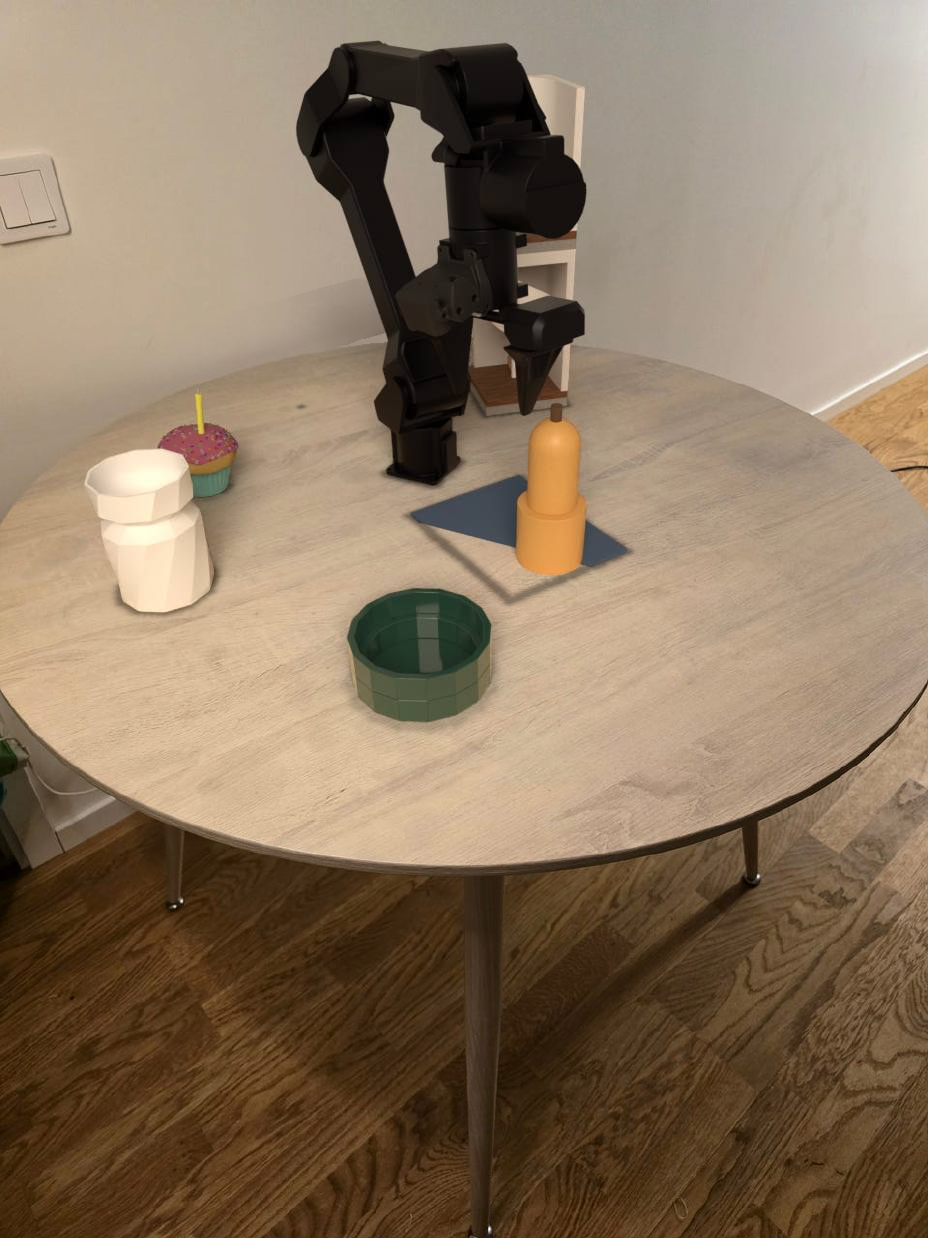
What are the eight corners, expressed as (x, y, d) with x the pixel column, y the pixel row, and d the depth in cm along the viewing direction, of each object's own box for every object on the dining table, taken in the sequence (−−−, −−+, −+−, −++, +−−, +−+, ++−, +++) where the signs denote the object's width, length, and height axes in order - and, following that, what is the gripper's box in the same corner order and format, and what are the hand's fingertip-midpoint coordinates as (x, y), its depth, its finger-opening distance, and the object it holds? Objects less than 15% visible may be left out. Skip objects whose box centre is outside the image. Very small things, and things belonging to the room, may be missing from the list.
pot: (327, 699, 69) (319, 652, 66) (398, 620, 77) (394, 575, 74) (451, 744, 65) (449, 696, 62) (513, 656, 73) (514, 609, 70)
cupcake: (258, 474, 98) (239, 373, 90) (218, 512, 92) (194, 406, 84) (193, 464, 100) (169, 364, 93) (150, 500, 94) (120, 396, 87)
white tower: (465, 380, 117) (458, 79, 96) (539, 371, 119) (550, 73, 97) (486, 415, 109) (485, 93, 87) (566, 405, 111) (585, 87, 89)
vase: (130, 624, 77) (91, 508, 70) (113, 574, 83) (76, 462, 76) (226, 595, 80) (199, 481, 73) (203, 549, 86) (176, 440, 79)
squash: (521, 577, 81) (525, 423, 71) (511, 540, 86) (514, 391, 76) (588, 573, 81) (601, 419, 71) (575, 536, 86) (586, 387, 76)
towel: (410, 515, 90) (410, 512, 90) (518, 477, 96) (518, 474, 96) (510, 601, 79) (510, 598, 78) (627, 552, 84) (627, 548, 84)
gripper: (340, 230, 74) (364, 405, 83) (486, 254, 62) (497, 456, 71) (439, 209, 80) (451, 374, 89) (590, 227, 68) (588, 416, 77)
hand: (491, 403), depth 81 cm, fingers open, 9 cm apart
